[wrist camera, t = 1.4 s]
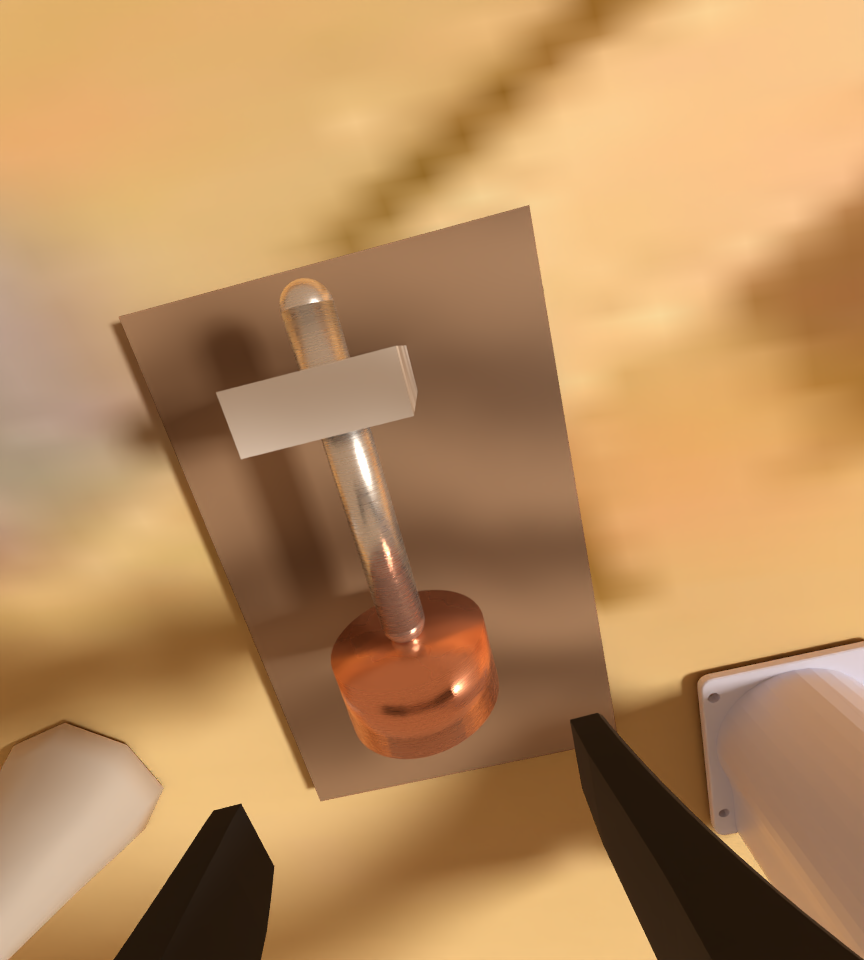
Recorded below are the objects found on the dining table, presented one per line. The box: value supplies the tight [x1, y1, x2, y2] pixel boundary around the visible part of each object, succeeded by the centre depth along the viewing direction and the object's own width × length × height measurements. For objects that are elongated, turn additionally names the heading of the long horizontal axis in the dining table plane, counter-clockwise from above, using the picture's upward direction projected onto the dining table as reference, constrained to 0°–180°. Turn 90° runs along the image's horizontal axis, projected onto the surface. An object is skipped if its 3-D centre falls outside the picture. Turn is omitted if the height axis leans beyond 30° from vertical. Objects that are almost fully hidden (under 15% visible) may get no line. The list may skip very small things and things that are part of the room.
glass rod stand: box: [279, 278, 499, 759], centre depth 14 cm, size 13×5×5 cm, turn 14°
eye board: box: [119, 205, 617, 801], centre depth 16 cm, size 22×14×7 cm, turn 14°
